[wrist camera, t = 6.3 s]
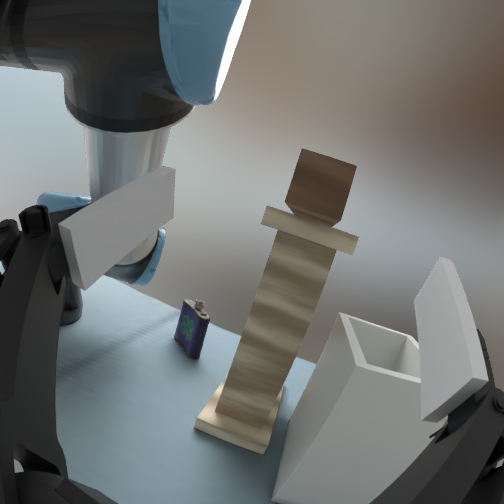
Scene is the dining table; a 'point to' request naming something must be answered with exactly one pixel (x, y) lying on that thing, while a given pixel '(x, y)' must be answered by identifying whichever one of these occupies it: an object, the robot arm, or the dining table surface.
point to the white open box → (355, 418)
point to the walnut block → (320, 188)
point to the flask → (192, 328)
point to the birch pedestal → (273, 329)
